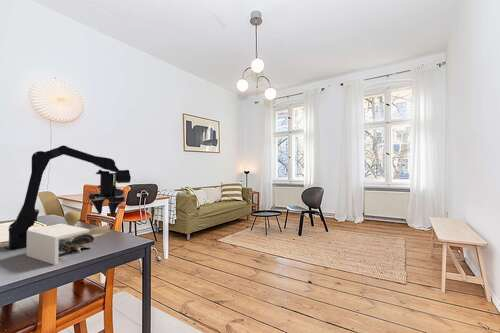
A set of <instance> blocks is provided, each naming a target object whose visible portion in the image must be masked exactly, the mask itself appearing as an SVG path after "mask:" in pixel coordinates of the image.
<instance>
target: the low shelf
mask: <svg viewBox="0 0 500 333" xmlns="http://www.w3.org/2000/svg"><path fill="white" fill-rule="evenodd" d="M87 232H89V228H83V227H80V226H79V227H78V226H77V227H75V226H70V225H68V224H67V223H66V224H65V223H57V224H52V225H48V226H41V227H37V228H32V229H28V230H27V247H26V252H25V253H26V256H27V257H30V258H32V259H35V260H39V261H42V262H45V263H48V264H51V265H54V266H55V265H56V266H57V265H58V264H59V248H60V247H59V239H63V238H67V237H71V236H75V235H79V234H83V233H87Z"/></svg>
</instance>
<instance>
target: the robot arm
mask: <svg viewBox="0 0 500 333" xmlns="http://www.w3.org/2000/svg"><path fill="white" fill-rule="evenodd" d="M63 155H64V156H68V157H71V158H74V159H77V160H79V161H83V162H87V163H90V164H93V165H94V166H96V167H99V168H100V169H98V171H96V172H95V175H100V177H99V178H100V179H99V181H100V182H99V184H98V186H97V188H99V192H95V193H90V194H89V195H88V200H90V202H91V203H92V204H93V206H94V208H95V209H96V211H97V213H98V214H99V215H101V214H102V212H103V205H104V204H103V203H104V202H105V200H108V202H107V204H108V208H109V213H110V216H111V217H114V216H115V213H116V211H117V208H118V206H119V205H120V204H121V203H123V202H125V199H126V198H125V196H124V193H125V190H122V189H119V188H117V186H116V185H114V181H115V182H116V183H117V184H129V183H131V179H132V177H131V173H130V170H129V169H123V170H122V169H119V168H118V166H117V165H116V162H115V160H114V159H112V158H110V157H104V156H98V155H93V154H90V153H88V152H84V151H81V150H79V149H74V148H72V147H69V146H67V145H60V146H58V147H56V148H52V149H50V150H47V151H42V150H40V151H35V152H34V153H33V154H32V155H31V174H30V176H29V177H30V178H29V180H28V185H27V190H26V193H25V198H24V201H23V204H22V206H21V208H20V210H19V212H18V214H17V216H16V220H15V221H13V222H12V223H11V224H9V226H8V245H5V246H4V248H5V249H8V250H11V251H13V250H17V249H18V250H19V249H22V248H27V230H29V229H30V228H32V227H33V226H34V224H35V222H38V216H39V213H40V209H37V208H36V203H37V198H38V196H39V190H40V187H41V182H42V177H43V174H44V172H45V170H46V169H47V167H48V164H49V162H50V160H52V159H55V158H57V157H62V156H63Z"/></svg>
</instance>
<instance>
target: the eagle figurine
mask: <svg viewBox="0 0 500 333" xmlns="http://www.w3.org/2000/svg"><path fill="white" fill-rule="evenodd" d="M94 240H95V238H94V237H93V236H91V235H86V234H85V235H82V236H79V237H75V238H74V239H73V240H72V242H69V241H67V240H65V241H63V245H65V247H66V248H62V249H63V250H65V255H68V254H69V252H71V251H73V250H72V249H75V250H74V251H77V252H79V254H81V252H82V251H81V248H84V249H85V248H86V249H91V247H90V246H87V244H91V243H93V242H94Z"/></svg>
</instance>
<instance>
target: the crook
mask: <svg viewBox="0 0 500 333" xmlns="http://www.w3.org/2000/svg"><path fill="white" fill-rule="evenodd" d="M88 229H89V228H88ZM110 229H111V228H110V224H105V225H101V226H97V227H94V228H90V229H89V232H87V233H83V234H79V235H75V236H71V237H67V238H63V239H59V248H62V249H63V248H66V247H65V245H63V241H65V240H67V241H69V242H72V240H73V239H74V238H75V237H79V236H82V235H85V234H86V235H91V236H93V237H95V238H96V237H99V236H101V235H104V234H108V233H110ZM107 232H108V233H107ZM71 251H76V250H75V249H72V250H71Z"/></svg>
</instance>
